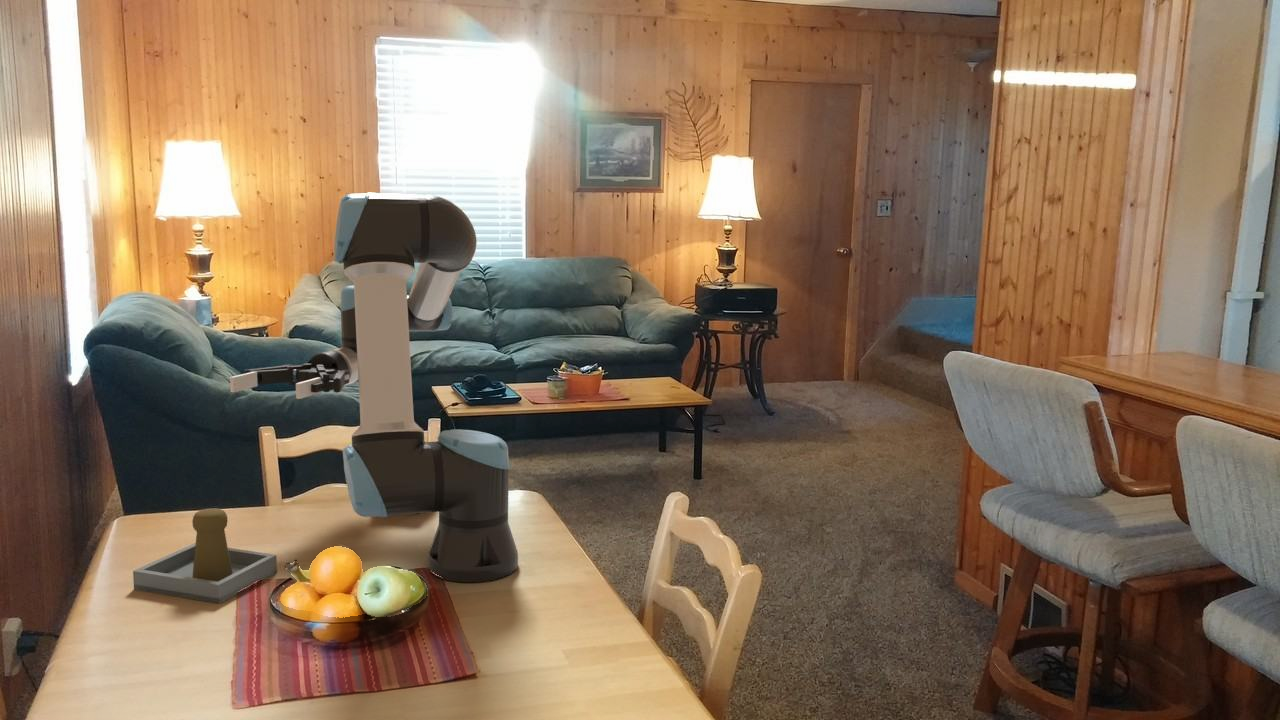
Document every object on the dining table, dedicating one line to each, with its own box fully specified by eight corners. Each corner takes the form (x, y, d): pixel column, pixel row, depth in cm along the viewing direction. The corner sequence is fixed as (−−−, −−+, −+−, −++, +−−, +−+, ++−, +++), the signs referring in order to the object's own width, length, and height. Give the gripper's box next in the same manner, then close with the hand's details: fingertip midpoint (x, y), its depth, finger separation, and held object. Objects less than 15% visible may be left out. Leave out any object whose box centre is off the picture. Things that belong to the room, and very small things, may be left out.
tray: (276, 572, 168) (276, 554, 168) (219, 603, 155) (218, 584, 154) (196, 559, 172) (195, 542, 172) (133, 589, 159) (133, 571, 159)
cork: (239, 570, 166) (237, 505, 164) (220, 584, 160) (218, 517, 158) (204, 567, 167) (201, 503, 165) (184, 581, 161) (181, 515, 159)
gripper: (390, 393, 196) (326, 415, 176) (279, 383, 203) (206, 402, 183) (389, 355, 195) (325, 372, 175) (278, 346, 202) (204, 361, 182)
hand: (264, 388), depth 179 cm, fingers open, 13 cm apart
